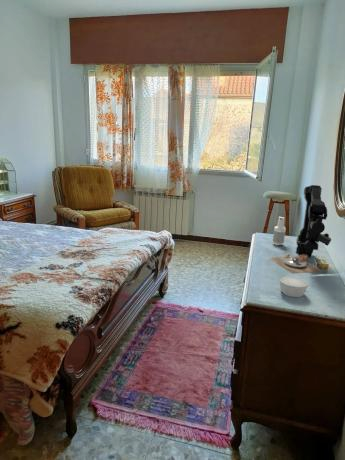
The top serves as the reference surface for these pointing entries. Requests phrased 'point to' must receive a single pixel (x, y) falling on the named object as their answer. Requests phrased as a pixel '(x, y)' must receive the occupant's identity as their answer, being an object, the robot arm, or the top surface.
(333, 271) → the top surface
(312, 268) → the base board
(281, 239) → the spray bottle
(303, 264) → the flange plate
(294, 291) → the ramekin
